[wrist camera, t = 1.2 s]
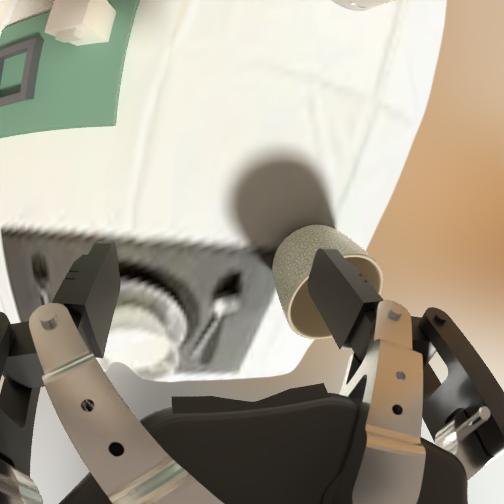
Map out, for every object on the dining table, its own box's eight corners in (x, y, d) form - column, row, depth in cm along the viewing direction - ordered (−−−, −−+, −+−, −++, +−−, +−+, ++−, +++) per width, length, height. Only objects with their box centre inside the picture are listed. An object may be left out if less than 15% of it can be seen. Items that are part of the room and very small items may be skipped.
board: (7, 30, 12) (-6, 27, 9) (139, -1, 17) (134, -10, 14) (-9, 139, 20) (-22, 144, 17) (115, 125, 25) (107, 127, 22)
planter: (353, 219, 37) (398, 257, 28) (327, 288, 43) (358, 335, 34) (274, 207, 34) (306, 249, 25) (254, 287, 40) (274, 342, 30)
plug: (84, 16, 16) (56, -5, 9) (116, 11, 17) (94, -14, 10) (75, 52, 18) (42, 40, 11) (107, 48, 19) (80, 31, 12)
